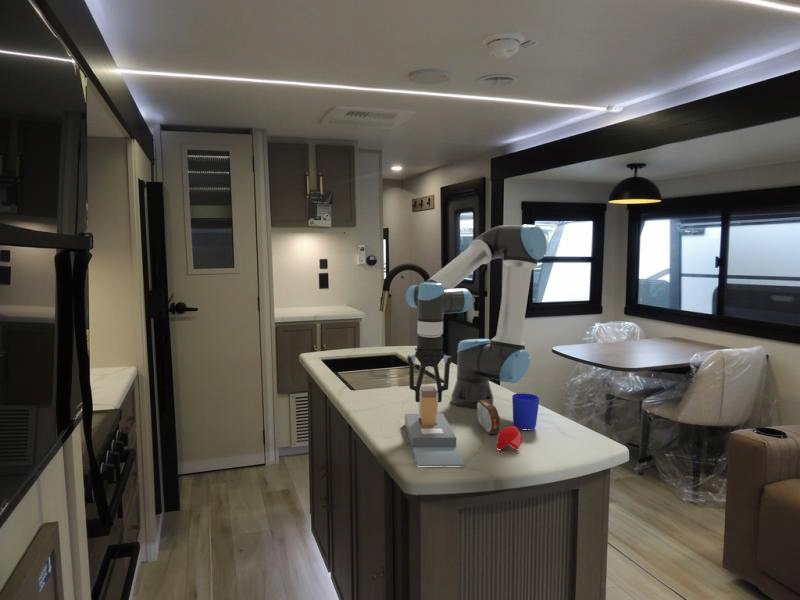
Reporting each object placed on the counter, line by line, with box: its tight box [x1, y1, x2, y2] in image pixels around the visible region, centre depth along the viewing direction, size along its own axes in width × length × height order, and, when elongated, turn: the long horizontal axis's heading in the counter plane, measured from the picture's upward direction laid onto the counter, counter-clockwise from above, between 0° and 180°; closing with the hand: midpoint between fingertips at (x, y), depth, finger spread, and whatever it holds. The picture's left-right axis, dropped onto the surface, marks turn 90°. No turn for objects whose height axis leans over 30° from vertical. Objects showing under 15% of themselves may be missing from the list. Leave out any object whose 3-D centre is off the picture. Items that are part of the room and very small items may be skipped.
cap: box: [495, 425, 523, 451], centre depth 151 cm, size 8×6×6 cm
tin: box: [476, 399, 501, 435], centre depth 166 cm, size 15×3×8 cm, turn 9°
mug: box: [511, 392, 540, 431], centre depth 170 cm, size 8×12×10 cm
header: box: [404, 413, 457, 451], centre depth 159 cm, size 12×22×4 cm, turn 5°
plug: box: [420, 385, 437, 425], centre depth 161 cm, size 4×6×12 cm, turn 2°
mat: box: [412, 446, 466, 467], centre depth 142 cm, size 12×12×1 cm
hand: (428, 412), depth 162 cm, fingers closed on plug, 4 cm apart
